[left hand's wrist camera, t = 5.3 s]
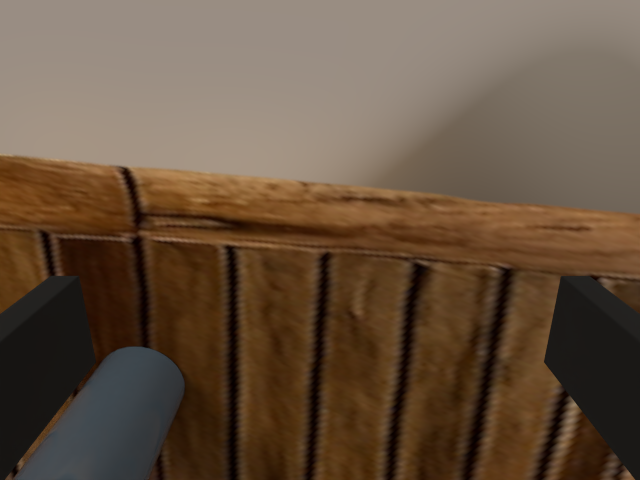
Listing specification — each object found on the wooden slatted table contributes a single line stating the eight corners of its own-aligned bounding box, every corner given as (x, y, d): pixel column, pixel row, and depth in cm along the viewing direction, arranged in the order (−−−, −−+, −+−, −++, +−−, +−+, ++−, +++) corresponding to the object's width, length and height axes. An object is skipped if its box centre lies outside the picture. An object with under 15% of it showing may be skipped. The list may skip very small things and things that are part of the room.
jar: (90, 345, 46) (-41, 501, 29) (181, 347, 46) (101, 504, 29) (103, 417, 49) (-9, 597, 32) (188, 419, 49) (119, 598, 32)
